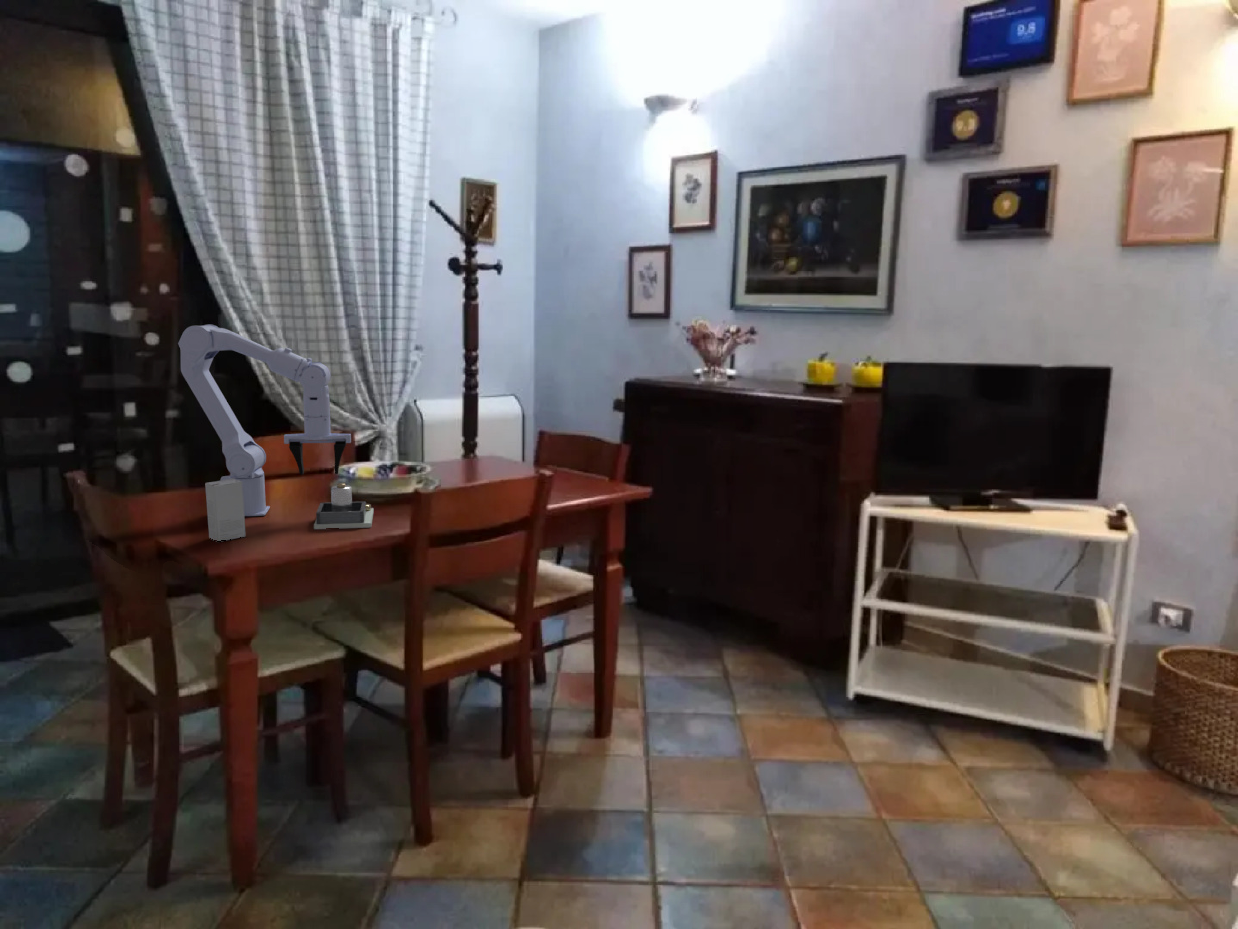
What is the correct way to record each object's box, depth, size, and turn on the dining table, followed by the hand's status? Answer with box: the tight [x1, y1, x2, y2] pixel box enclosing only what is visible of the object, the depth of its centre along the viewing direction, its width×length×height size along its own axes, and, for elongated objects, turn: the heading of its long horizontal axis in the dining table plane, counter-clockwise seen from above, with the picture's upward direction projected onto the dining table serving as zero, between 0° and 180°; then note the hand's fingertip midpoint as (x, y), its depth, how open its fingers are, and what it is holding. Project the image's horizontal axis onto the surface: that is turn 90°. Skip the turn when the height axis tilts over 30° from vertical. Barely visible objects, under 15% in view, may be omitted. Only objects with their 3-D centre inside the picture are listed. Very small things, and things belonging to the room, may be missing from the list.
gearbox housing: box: [313, 501, 374, 530], centre depth 196 cm, size 12×14×4 cm
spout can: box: [330, 482, 353, 512], centre depth 195 cm, size 4×6×8 cm
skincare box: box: [204, 479, 247, 542], centre depth 179 cm, size 6×4×12 cm
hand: (319, 473), depth 201 cm, fingers open, 7 cm apart
